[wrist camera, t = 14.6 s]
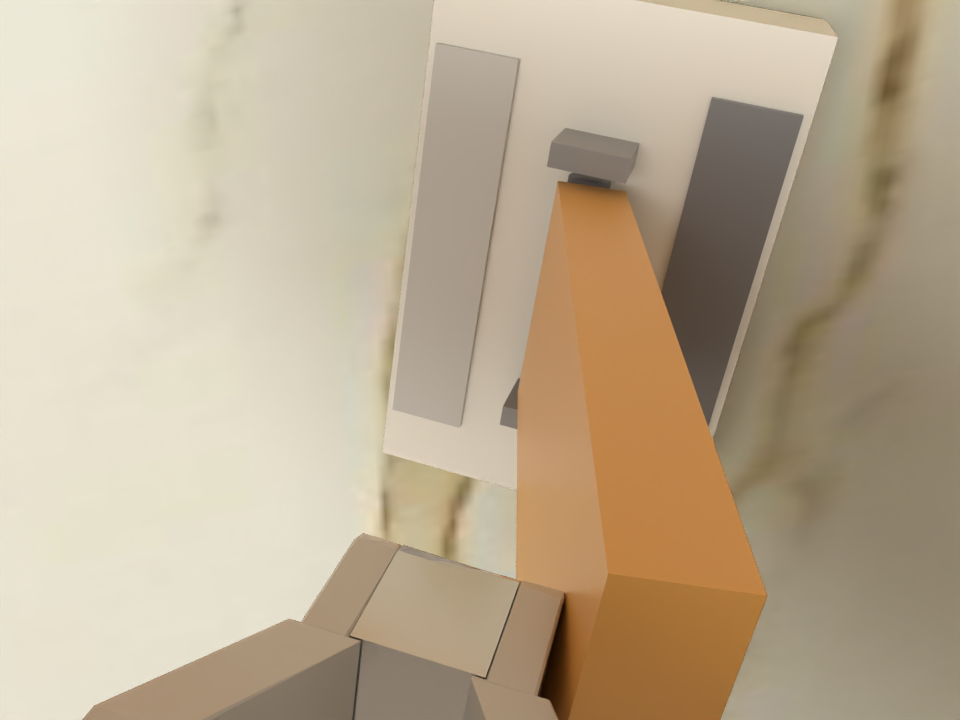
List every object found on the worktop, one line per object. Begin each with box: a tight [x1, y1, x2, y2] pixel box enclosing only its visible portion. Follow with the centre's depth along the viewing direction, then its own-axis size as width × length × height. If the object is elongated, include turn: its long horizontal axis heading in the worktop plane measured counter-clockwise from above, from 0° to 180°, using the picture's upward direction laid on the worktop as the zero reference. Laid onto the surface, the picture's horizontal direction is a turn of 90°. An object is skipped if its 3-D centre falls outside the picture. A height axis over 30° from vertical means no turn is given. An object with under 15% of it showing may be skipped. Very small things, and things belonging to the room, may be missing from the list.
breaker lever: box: [516, 173, 767, 720], centre depth 15 cm, size 1×5×13 cm, turn 171°
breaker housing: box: [382, 0, 838, 491], centre depth 22 cm, size 8×12×6 cm, turn 171°
